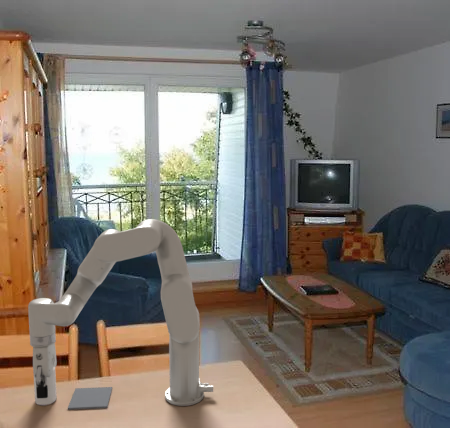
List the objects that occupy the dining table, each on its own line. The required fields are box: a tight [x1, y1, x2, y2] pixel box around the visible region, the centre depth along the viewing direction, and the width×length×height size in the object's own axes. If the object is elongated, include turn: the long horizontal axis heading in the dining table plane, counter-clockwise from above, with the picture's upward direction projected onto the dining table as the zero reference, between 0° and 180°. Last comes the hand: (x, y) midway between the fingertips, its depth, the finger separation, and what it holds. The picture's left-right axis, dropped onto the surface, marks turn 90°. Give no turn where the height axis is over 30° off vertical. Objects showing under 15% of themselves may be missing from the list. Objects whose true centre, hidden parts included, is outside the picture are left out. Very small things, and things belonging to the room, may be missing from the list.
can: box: [33, 367, 58, 407], centre depth 154 cm, size 6×6×12 cm
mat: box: [67, 386, 113, 411], centre depth 156 cm, size 12×12×1 cm
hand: (45, 391), depth 155 cm, fingers closed on can, 6 cm apart
